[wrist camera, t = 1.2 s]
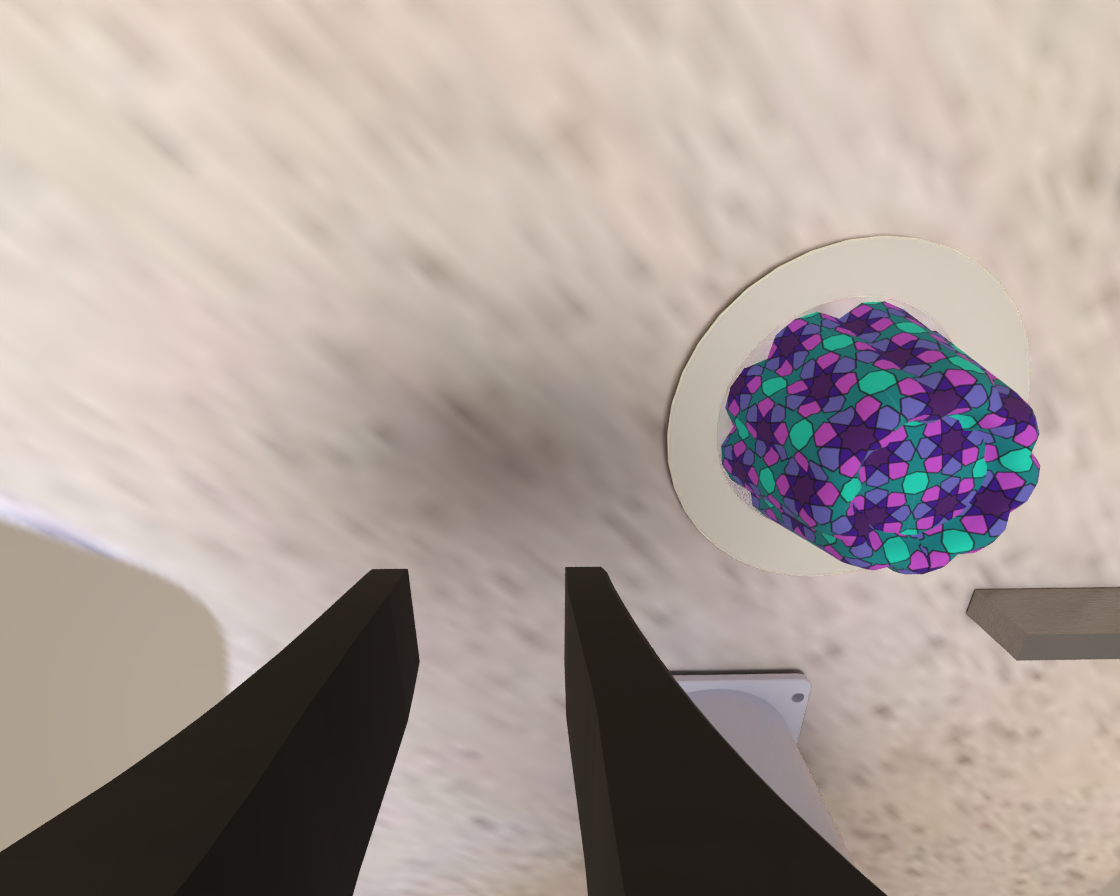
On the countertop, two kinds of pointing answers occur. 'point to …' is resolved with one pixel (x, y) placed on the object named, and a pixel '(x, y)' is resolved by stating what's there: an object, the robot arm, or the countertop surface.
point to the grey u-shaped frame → (1051, 622)
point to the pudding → (859, 414)
